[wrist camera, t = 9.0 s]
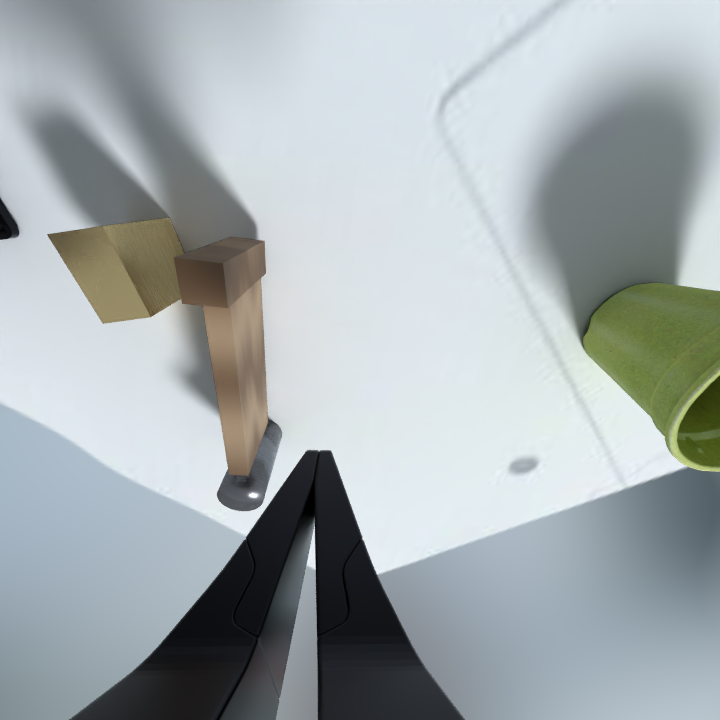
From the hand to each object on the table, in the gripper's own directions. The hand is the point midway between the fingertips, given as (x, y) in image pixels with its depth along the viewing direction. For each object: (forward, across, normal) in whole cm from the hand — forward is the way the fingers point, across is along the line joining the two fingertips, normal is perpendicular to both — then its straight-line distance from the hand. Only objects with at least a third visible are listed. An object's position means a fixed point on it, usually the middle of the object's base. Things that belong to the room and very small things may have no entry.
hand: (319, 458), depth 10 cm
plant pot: (+12, -20, -1) cm, 24 cm away
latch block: (+11, +10, -4) cm, 16 cm away
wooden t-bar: (+10, +5, +1) cm, 12 cm away
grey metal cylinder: (+11, +6, +10) cm, 16 cm away
